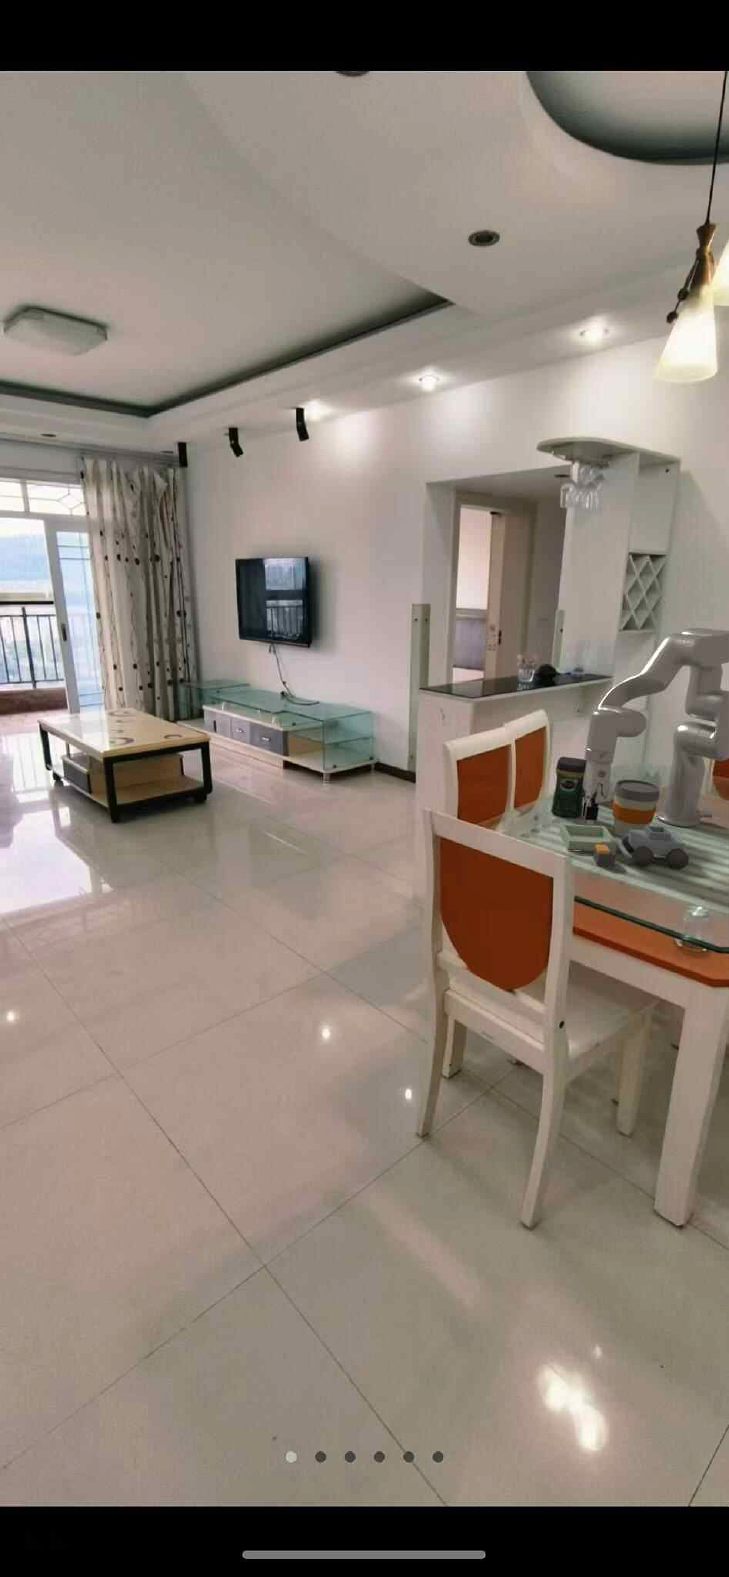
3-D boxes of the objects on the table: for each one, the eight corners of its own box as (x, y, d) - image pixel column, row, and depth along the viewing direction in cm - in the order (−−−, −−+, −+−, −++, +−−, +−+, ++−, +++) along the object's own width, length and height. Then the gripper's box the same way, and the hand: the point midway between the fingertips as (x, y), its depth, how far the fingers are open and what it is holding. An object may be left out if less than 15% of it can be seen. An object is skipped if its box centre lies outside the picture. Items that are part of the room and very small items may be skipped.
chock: (609, 860, 179) (612, 845, 178) (613, 866, 176) (616, 851, 174) (593, 859, 180) (595, 844, 178) (596, 865, 176) (599, 850, 175)
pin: (593, 822, 190) (597, 792, 187) (596, 827, 186) (601, 797, 184) (580, 821, 190) (584, 792, 187) (583, 826, 187) (587, 796, 184)
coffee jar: (583, 812, 214) (591, 757, 209) (579, 820, 208) (587, 763, 202) (552, 807, 218) (560, 753, 213) (548, 814, 212) (555, 758, 206)
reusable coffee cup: (624, 843, 191) (632, 794, 187) (599, 827, 203) (606, 780, 198) (661, 839, 195) (670, 791, 190) (634, 824, 206) (642, 778, 201)
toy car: (671, 850, 187) (676, 822, 184) (687, 869, 175) (693, 839, 173) (620, 847, 188) (624, 819, 185) (633, 866, 176) (638, 836, 174)
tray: (603, 835, 196) (605, 826, 195) (615, 853, 184) (617, 843, 183) (558, 833, 197) (560, 823, 196) (567, 850, 185) (569, 840, 184)
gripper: (621, 764, 174) (610, 829, 180) (605, 748, 189) (595, 809, 195) (592, 762, 174) (582, 827, 180) (578, 747, 190) (569, 807, 196)
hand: (589, 817), depth 188 cm, fingers closed on pin, 2 cm apart
